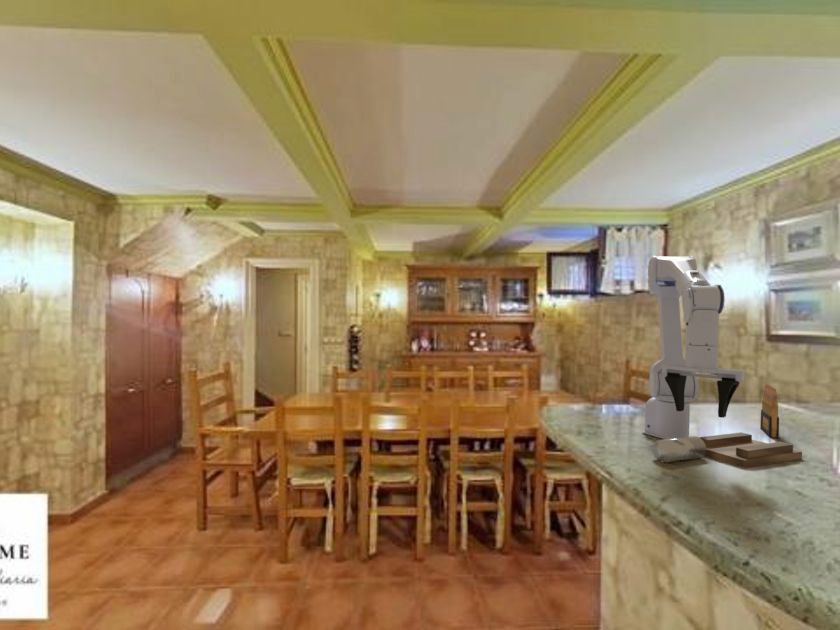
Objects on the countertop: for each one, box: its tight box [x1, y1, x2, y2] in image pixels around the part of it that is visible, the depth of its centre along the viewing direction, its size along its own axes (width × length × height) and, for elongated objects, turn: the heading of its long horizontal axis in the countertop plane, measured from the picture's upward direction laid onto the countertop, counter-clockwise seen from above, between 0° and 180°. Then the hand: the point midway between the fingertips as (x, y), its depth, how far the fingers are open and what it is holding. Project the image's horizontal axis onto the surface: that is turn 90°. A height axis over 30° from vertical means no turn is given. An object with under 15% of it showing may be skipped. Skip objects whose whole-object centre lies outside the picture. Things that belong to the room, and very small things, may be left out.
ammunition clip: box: [759, 383, 780, 439], centre depth 124 cm, size 11×2×12 cm, turn 155°
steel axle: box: [651, 435, 706, 463], centre depth 100 cm, size 4×10×4 cm
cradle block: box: [698, 432, 803, 469], centre depth 104 cm, size 12×18×3 cm, turn 113°
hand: (700, 413), depth 98 cm, fingers open, 7 cm apart
